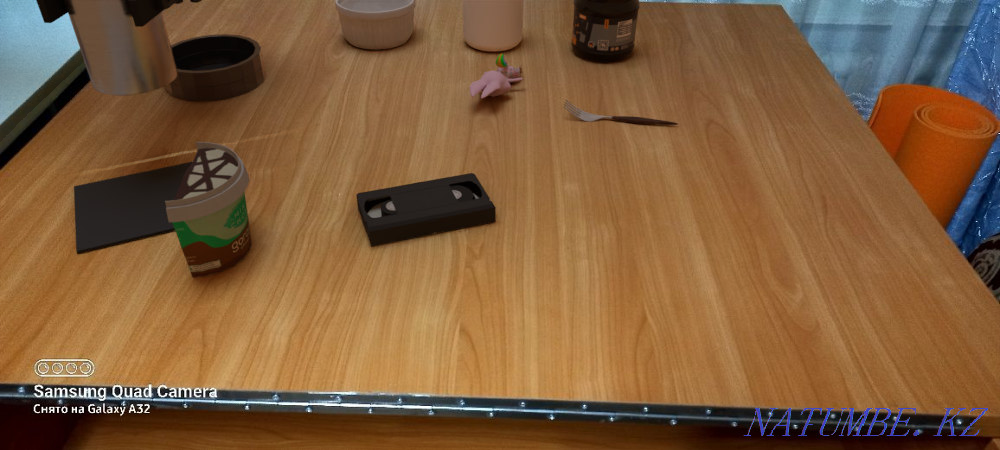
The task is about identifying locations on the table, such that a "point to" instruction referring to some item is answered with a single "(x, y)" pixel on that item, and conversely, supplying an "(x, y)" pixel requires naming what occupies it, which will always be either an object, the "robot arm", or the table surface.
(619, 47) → the supplement container
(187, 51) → the shallow dark brown bowl
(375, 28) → the ramekin
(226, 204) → the food container
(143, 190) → the mat
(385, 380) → the table surface
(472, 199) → the vhs tape
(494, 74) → the rabbit figure
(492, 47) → the cup
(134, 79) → the small pot
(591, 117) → the fork
